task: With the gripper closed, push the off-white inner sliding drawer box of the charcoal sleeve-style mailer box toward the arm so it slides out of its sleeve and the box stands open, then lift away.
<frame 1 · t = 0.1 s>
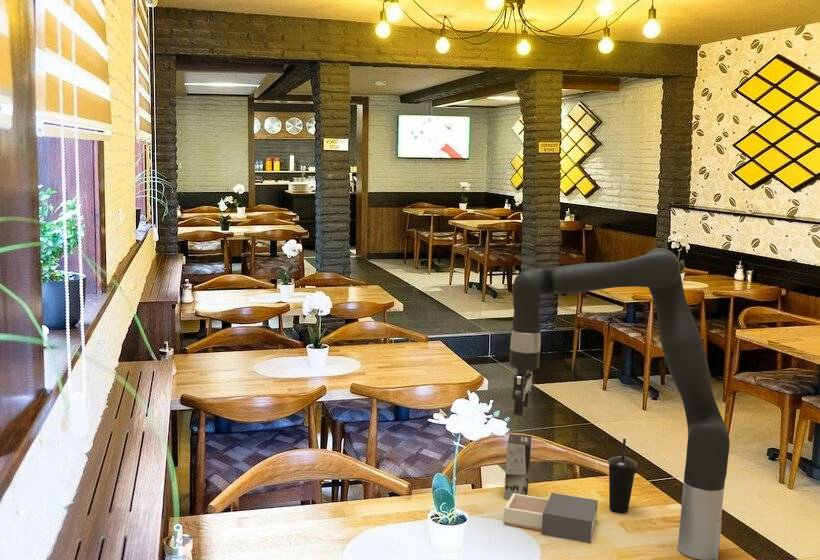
hand: (521, 410, 208), 29 cm above the table, fingers open, 8 cm apart
drinking cup: (618, 510, 221), on the table
coffee box: (516, 495, 229), on the table
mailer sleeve: (569, 527, 208), on the table
sliding drawer box: (550, 515, 210), point 2 cm above the table, slide at 0.0 cm
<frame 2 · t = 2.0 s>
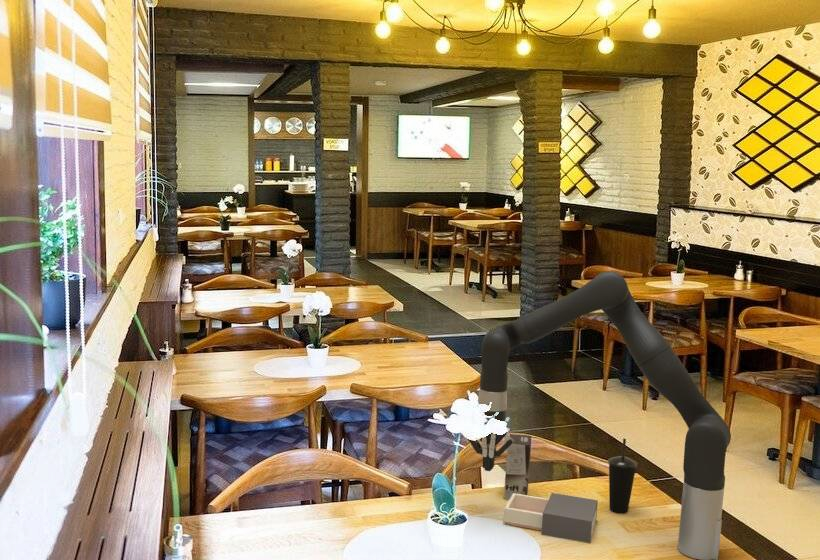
hand: (487, 469, 214), 12 cm above the table, fingers closed
nothing on the table moved.
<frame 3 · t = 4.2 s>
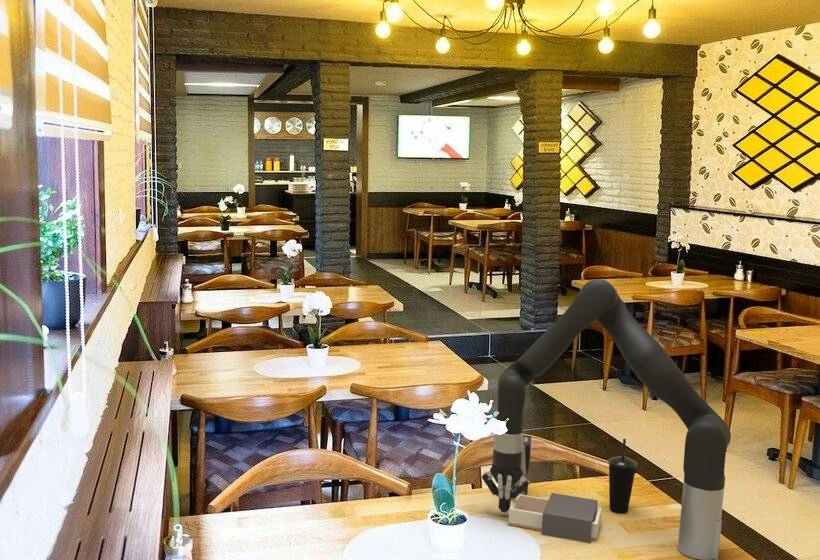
hand: (503, 511, 214), 1 cm above the table, fingers closed
sliding drawer box: (555, 516, 209), point 2 cm above the table, slide at 1.3 cm, touching gripper
everything else where it was.
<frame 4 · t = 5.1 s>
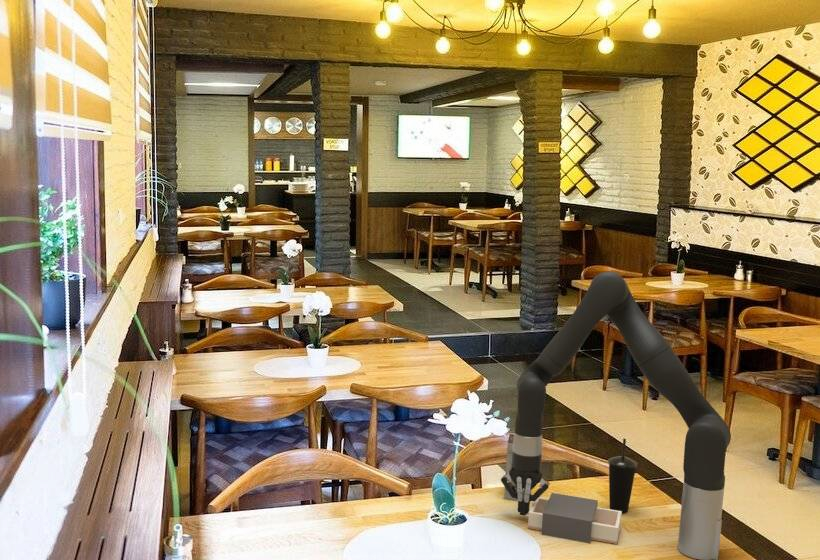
hand: (523, 514, 212), 1 cm above the table, fingers closed
sliding drawer box: (575, 519, 208), point 2 cm above the table, slide at 6.3 cm, touching gripper
everything else where it was.
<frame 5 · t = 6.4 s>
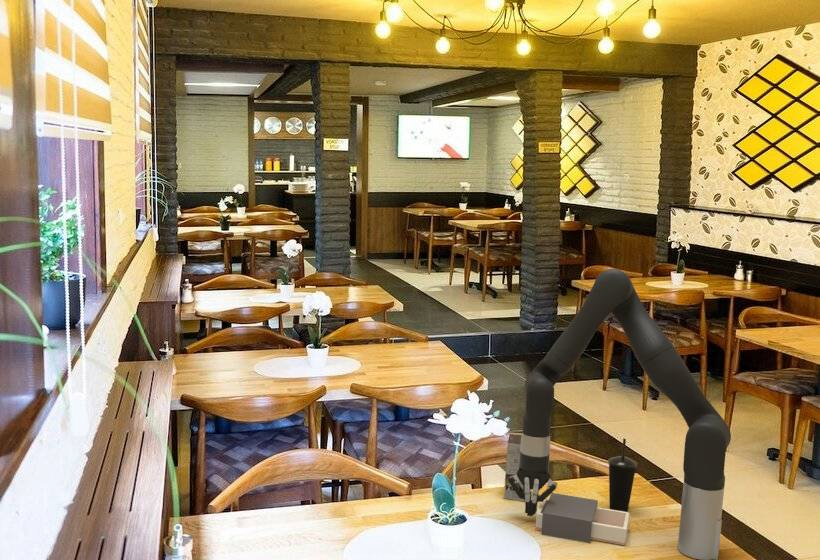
hand: (530, 514, 211), 2 cm above the table, fingers closed
sliding drawer box: (582, 520, 207), point 2 cm above the table, slide at 8.2 cm
everything else where it was.
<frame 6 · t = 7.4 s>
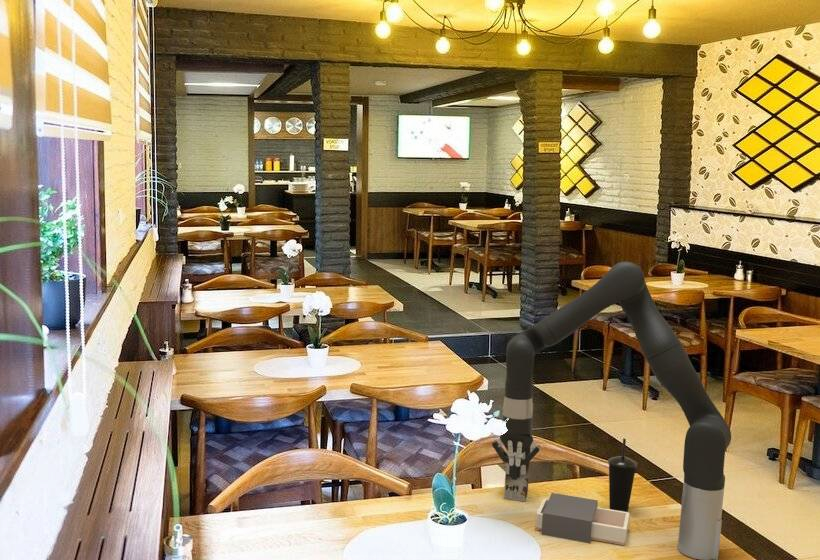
hand: (514, 478, 211), 11 cm above the table, fingers closed
nothing on the table moved.
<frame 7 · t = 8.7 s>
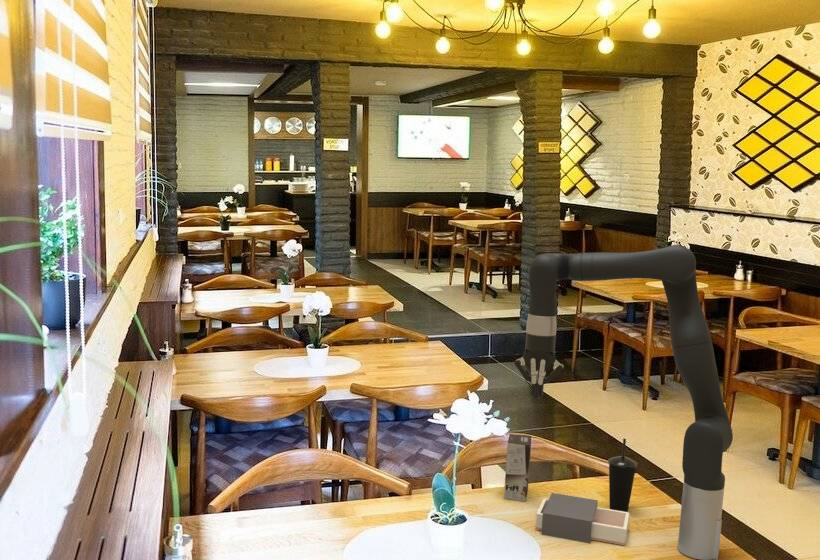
hand: (536, 397, 211), 32 cm above the table, fingers closed
nothing on the table moved.
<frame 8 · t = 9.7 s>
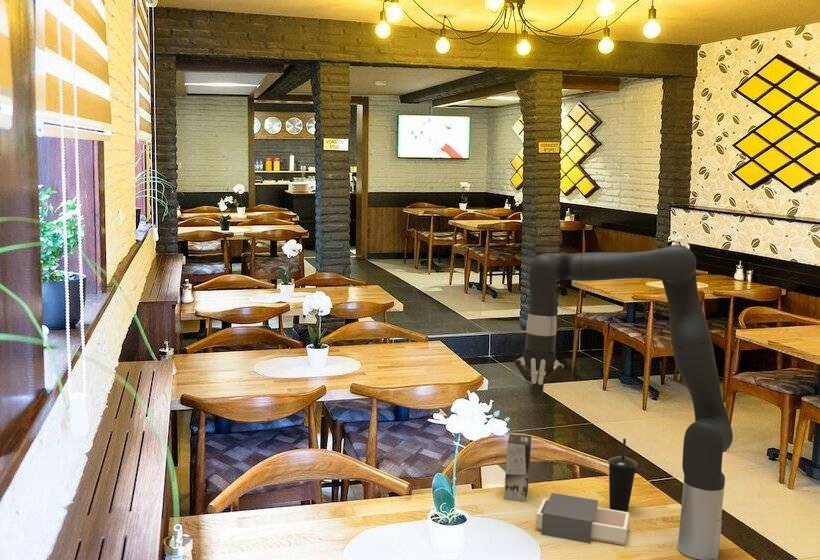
hand: (536, 397, 211), 32 cm above the table, fingers closed
nothing on the table moved.
at the end: sliding drawer box slide at 8.2 cm; coffee box moved 0.2 cm from its start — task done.
